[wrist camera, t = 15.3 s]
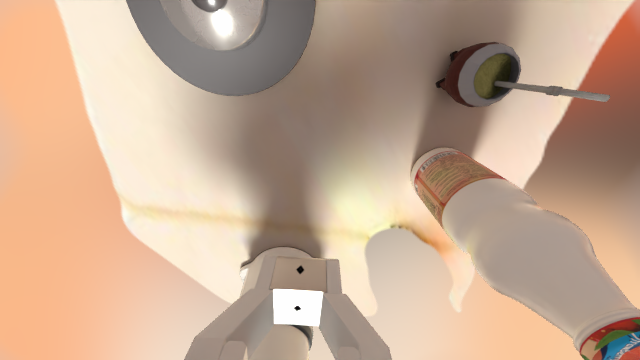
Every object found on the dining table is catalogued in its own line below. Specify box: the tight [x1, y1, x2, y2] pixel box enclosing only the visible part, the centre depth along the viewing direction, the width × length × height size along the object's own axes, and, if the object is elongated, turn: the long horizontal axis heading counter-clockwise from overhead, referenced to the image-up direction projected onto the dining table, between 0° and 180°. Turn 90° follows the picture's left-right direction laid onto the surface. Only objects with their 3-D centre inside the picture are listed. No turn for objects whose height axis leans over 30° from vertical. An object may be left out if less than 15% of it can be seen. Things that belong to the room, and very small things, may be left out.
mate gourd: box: [436, 42, 610, 107], centre depth 26 cm, size 8×8×15 cm
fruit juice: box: [411, 148, 640, 360], centre depth 27 cm, size 9×9×28 cm
